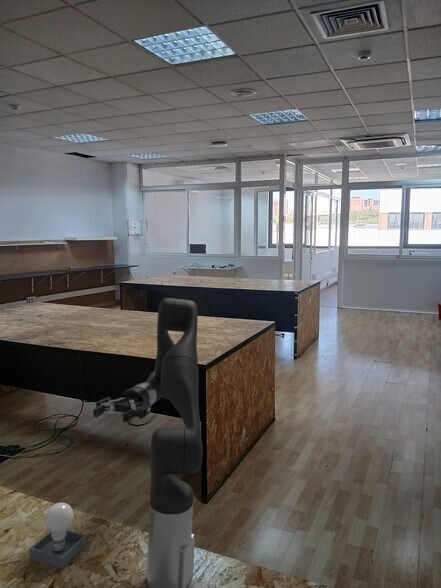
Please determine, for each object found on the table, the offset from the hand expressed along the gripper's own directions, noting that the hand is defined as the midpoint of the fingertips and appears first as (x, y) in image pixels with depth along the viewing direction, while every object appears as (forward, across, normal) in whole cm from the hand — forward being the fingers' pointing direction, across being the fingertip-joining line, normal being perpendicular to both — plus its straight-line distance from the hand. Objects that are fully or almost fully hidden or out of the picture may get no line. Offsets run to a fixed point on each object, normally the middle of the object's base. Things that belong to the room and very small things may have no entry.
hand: (109, 416), depth 115 cm
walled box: (+15, -3, +28) cm, 32 cm away
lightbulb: (+15, -3, +28) cm, 32 cm away
